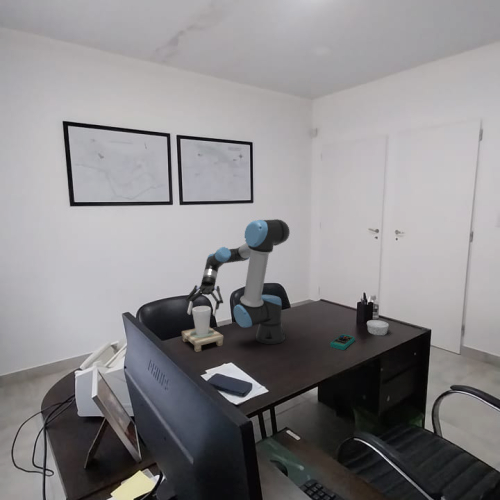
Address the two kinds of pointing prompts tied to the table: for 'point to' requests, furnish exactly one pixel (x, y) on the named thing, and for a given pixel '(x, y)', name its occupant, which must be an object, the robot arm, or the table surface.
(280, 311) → the robot arm
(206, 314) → the foam cup
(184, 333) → the stand
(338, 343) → the digital multimeter
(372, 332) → the ramekin
